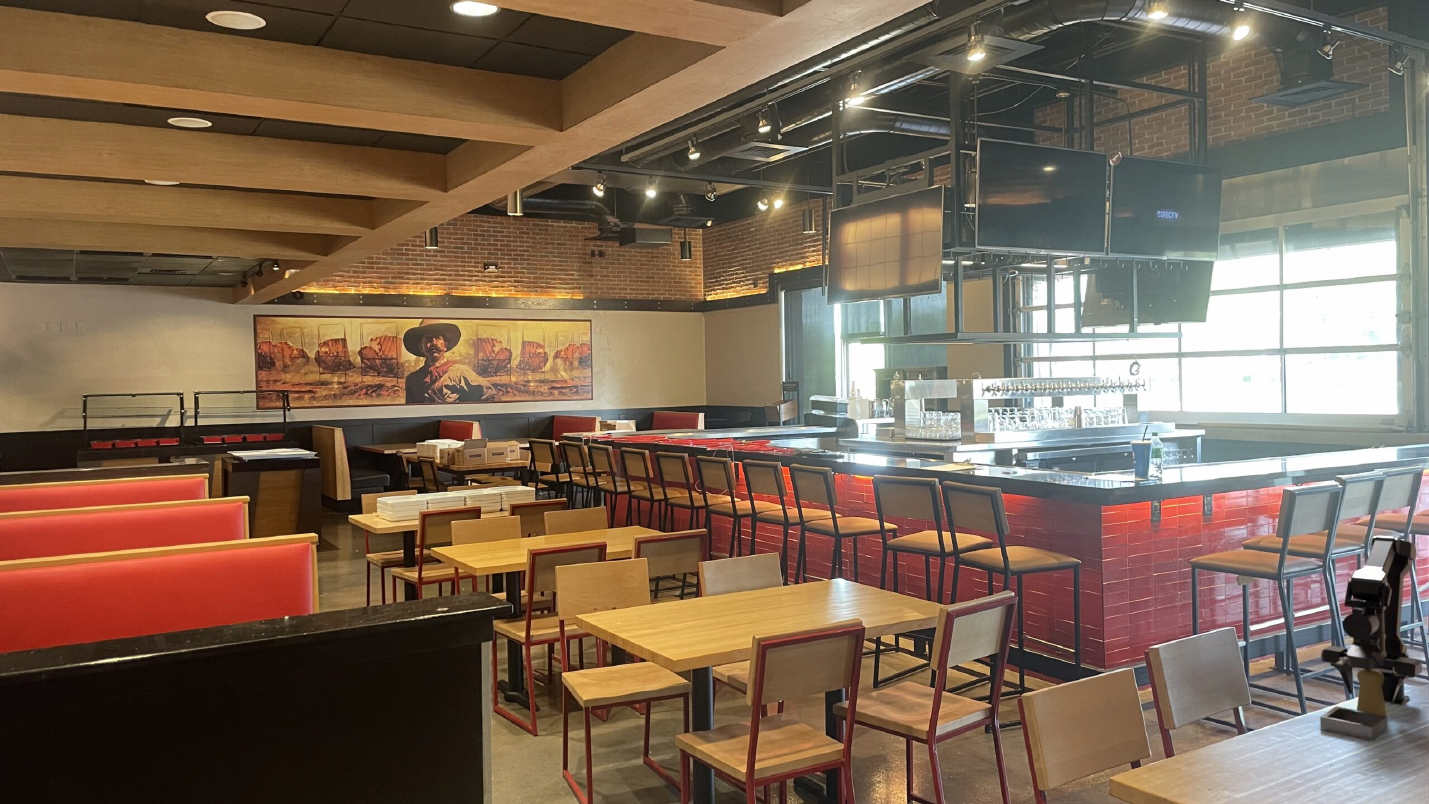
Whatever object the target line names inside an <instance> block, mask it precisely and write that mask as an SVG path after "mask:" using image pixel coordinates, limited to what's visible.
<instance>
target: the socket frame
mask: <svg viewBox="0 0 1429 804" xmlns="http://www.w3.org/2000/svg"><path fill="white" fill-rule="evenodd" d="M1319 719H1320V720H1319V721H1320V722H1319V723H1320V730H1321V731H1323V732H1329V733H1332V734H1336V735H1342V736H1346V737H1350V738H1356V739H1359V740H1363V741H1369V742H1373V741H1375V740H1376V739H1378V738H1379V737H1380V736H1381V735H1382V734H1384V733H1386V731H1388V715H1387V716H1382V715H1377V714H1372V713H1367V712H1362V711H1357V709H1352V708H1348V707H1347V708H1346V707H1342V706H1336V705H1335V706H1334V707H1333V708H1331V709H1330V710H1328V711H1327V712H1325V713H1324V714H1322V715H1321V716H1320V717H1319Z"/></svg>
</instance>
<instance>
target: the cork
mask: <svg viewBox="0 0 1429 804" xmlns="http://www.w3.org/2000/svg"><path fill="white" fill-rule="evenodd" d="M1357 680H1358V682H1359V691H1358V699H1357V706H1356V710H1357V711H1362V712H1367V713H1372V714H1377V715H1382V716H1387V717H1388V715H1387V709H1386V708H1387V707H1386V703H1385V702H1386V701H1384V697H1383V691H1382V684H1383V683H1384V675H1383V674H1382V672H1380V671H1378V670H1375V669H1372V670H1364V669H1362V668H1360V669H1359V670H1358V671H1357Z"/></svg>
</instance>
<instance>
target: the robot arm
mask: <svg viewBox="0 0 1429 804" xmlns="http://www.w3.org/2000/svg"><path fill="white" fill-rule="evenodd" d="M1416 558H1417V547H1416V545H1415V544H1414V543H1412V542H1411V541H1410V540H1406V539H1405V540H1403V539H1400V538H1398V537H1396V536H1390V535H1389V536H1388V535H1376V536H1373V537H1372V539H1371V543H1370V551H1369V554H1368V557H1367V559H1366V561H1365V563H1364V566H1363V568H1361V569H1358V570H1356V571H1354V573H1353V575H1352V576H1351V578H1350V579H1349V580H1348V581H1347V586H1346V593H1345V597H1344V604H1343V605H1344V607H1347V608H1351V613H1349V614H1348V615H1346V616H1345V617H1344V618H1343V621H1342V629H1343V631H1344V632H1345V634H1346V635H1348V636H1349V637H1350V638H1352V644H1351V645H1350V647H1349V648H1347V647H1341V646H1335V645H1329V646H1328V647H1326V648H1324V649H1322V650H1321V653H1320V657H1321V658H1320V660H1321V661H1322V662H1324V663H1325V662H1326V663H1329V664H1330V666H1331V667H1334V668H1335V669H1336V670H1337V671H1338V672H1339V674H1340V675H1341V678H1342V680H1343V682H1344V684H1345V687H1346V688H1347V691H1348V694H1349V695H1352V694H1353V693H1354V691H1353V690H1354V678H1353V676H1354V673H1353V669H1355V668H1356V669H1357V668H1358V669H1364V670H1372V669H1375V670H1378V671H1380V672H1382V674H1383V675H1384V683H1383V684H1382V691H1383V697H1384V702H1388V703H1393V704H1399V705H1403V704H1405V703H1406V702H1407V701H1409V700H1410V696H1409V695H1405V679H1407V680H1408V679H1410V678H1411V679H1413V678H1415V677H1417V676H1418V675H1419V674H1421V673H1423V664H1422V663H1421V661H1420V660H1419V659H1416V658H1411V657H1410V655H1409V653H1408V648H1407V645H1406V644H1405V642H1404V640H1403V639H1402V637H1401V626H1402V625H1401V623H1402V622H1401V621H1402V605H1403V593H1404V592H1403V591H1404V590H1403V589H1404V580H1405V579H1404V578H1405V576H1406V575H1407V574H1408V573H1409V572H1410V571H1411V570H1412V569H1413V565H1414V560H1416Z"/></svg>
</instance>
